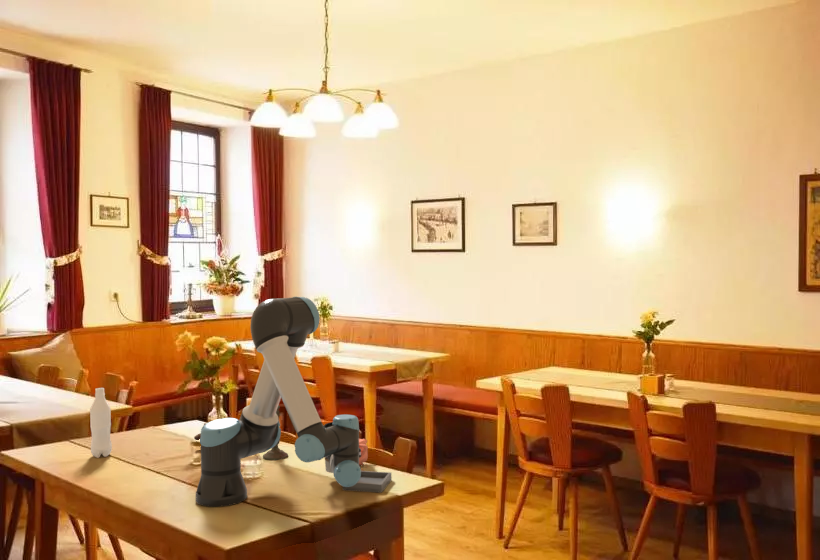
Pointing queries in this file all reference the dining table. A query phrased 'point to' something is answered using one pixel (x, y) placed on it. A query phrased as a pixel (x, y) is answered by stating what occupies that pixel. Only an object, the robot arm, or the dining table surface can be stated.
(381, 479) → the tray
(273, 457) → the candlestick holder
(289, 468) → the dining table surface
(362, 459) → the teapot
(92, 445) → the water bottle
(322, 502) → the dining table surface
